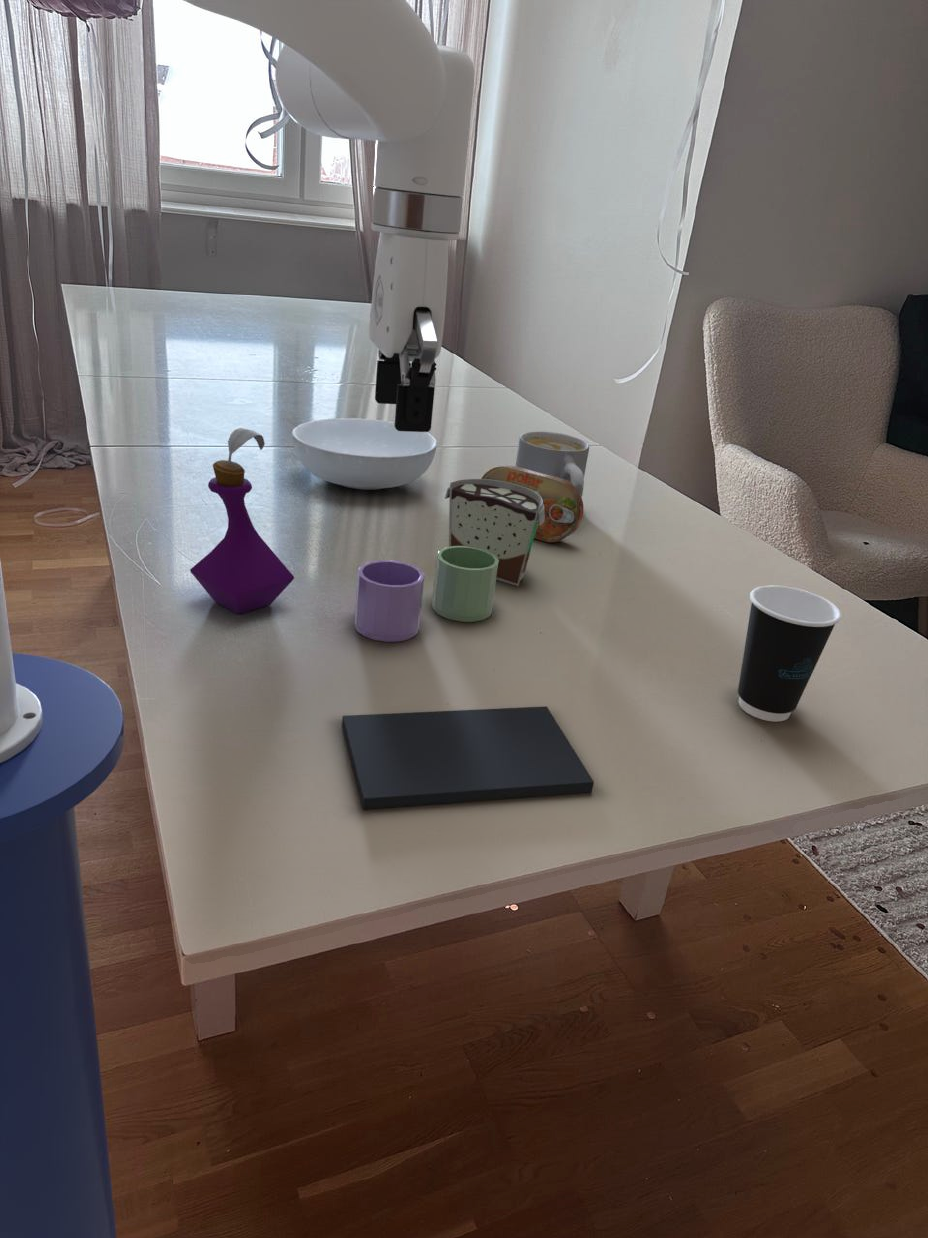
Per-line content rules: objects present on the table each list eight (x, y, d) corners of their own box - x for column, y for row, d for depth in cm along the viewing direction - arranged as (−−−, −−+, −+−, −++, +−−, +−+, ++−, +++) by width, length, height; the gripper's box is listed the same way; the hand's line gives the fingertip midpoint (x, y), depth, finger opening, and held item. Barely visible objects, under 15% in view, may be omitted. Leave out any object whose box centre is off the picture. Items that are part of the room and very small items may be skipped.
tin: (472, 519, 123) (479, 460, 119) (483, 514, 125) (491, 455, 121) (570, 550, 116) (581, 488, 112) (580, 544, 119) (591, 483, 115)
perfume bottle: (234, 625, 87) (234, 445, 80) (189, 599, 92) (185, 425, 84) (294, 606, 93) (300, 435, 85) (249, 581, 97) (251, 416, 89)
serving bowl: (385, 455, 146) (388, 413, 143) (460, 496, 131) (465, 450, 128) (266, 465, 134) (267, 419, 131) (334, 511, 119) (336, 461, 116)
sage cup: (439, 622, 93) (445, 569, 91) (426, 595, 99) (431, 545, 96) (498, 621, 95) (506, 569, 92) (482, 595, 100) (488, 545, 98)
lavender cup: (359, 642, 87) (363, 587, 85) (350, 613, 93) (353, 559, 90) (424, 641, 89) (430, 586, 86) (411, 612, 95) (416, 560, 92)
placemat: (362, 809, 65) (363, 798, 64) (341, 725, 74) (342, 715, 74) (592, 792, 70) (594, 782, 69) (545, 715, 79) (546, 706, 79)
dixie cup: (739, 677, 90) (768, 577, 85) (818, 709, 86) (852, 605, 81) (708, 706, 84) (737, 600, 79) (791, 741, 80) (826, 632, 75)
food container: (550, 574, 108) (564, 495, 104) (530, 590, 103) (543, 508, 99) (461, 546, 113) (470, 470, 109) (437, 560, 108) (446, 481, 104)
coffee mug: (503, 495, 134) (512, 429, 129) (565, 497, 136) (576, 433, 132) (526, 527, 122) (537, 456, 118) (594, 529, 125) (607, 460, 120)
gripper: (356, 205, 82) (347, 392, 90) (392, 219, 67) (378, 441, 75) (435, 213, 84) (420, 395, 92) (487, 229, 69) (464, 444, 77)
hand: (401, 416), depth 83 cm, fingers open, 9 cm apart
